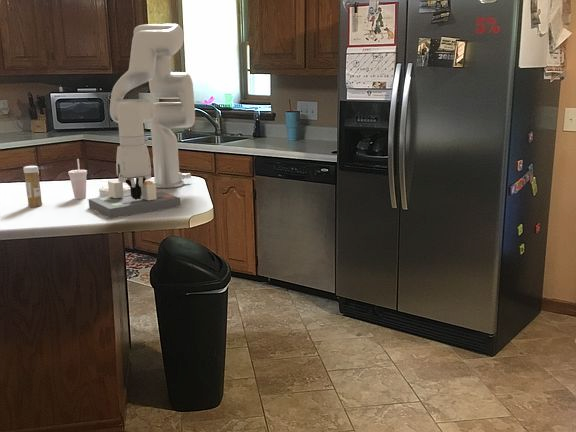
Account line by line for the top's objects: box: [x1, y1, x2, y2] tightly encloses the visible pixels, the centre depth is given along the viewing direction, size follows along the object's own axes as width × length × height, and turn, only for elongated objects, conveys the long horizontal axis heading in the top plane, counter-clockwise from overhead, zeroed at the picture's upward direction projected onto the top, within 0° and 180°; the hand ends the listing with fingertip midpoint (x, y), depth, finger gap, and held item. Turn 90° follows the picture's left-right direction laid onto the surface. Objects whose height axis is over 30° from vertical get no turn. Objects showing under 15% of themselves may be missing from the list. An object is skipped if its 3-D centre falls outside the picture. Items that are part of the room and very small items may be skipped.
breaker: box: [107, 179, 124, 198], centre depth 205 cm, size 3×5×5 cm, turn 37°
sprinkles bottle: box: [22, 165, 43, 208], centre depth 207 cm, size 5×5×13 cm
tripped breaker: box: [141, 179, 157, 200], centre depth 201 cm, size 3×5×6 cm, turn 37°
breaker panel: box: [88, 189, 181, 219], centre depth 204 cm, size 24×18×3 cm
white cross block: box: [98, 183, 131, 197], centre depth 223 cm, size 12×12×4 cm
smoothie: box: [67, 158, 88, 200], centre depth 218 cm, size 6×6×14 cm
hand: (136, 198), depth 199 cm, fingers closed
